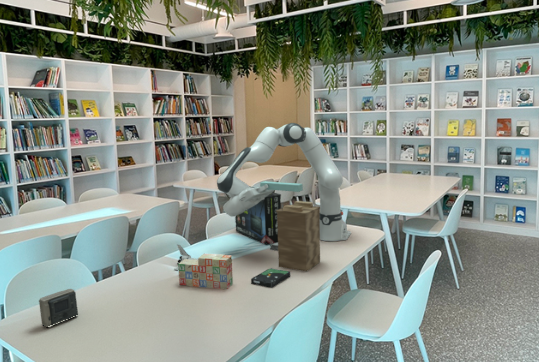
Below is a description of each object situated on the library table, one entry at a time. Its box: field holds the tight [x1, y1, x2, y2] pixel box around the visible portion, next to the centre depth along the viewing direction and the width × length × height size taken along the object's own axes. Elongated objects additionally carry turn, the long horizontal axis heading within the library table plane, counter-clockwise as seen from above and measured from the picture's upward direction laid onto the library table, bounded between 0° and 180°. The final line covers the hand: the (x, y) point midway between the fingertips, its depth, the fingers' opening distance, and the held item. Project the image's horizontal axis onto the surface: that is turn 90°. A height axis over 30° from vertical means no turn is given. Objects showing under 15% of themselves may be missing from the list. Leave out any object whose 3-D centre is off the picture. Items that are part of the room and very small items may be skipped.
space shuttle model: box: [174, 244, 198, 271], centre depth 199 cm, size 16×25×10 cm, turn 65°
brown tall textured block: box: [276, 200, 321, 272], centre depth 196 cm, size 15×15×28 cm
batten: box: [259, 181, 304, 193], centre depth 198 cm, size 4×20×3 cm, turn 58°
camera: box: [38, 288, 79, 328], centre depth 148 cm, size 11×6×10 cm, turn 140°
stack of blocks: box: [177, 253, 234, 290], centre depth 177 cm, size 21×6×12 cm, turn 74°
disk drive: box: [250, 267, 291, 289], centre depth 181 cm, size 10×3×15 cm
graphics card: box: [269, 243, 278, 252], centre depth 229 cm, size 10×3×25 cm
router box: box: [234, 186, 282, 246], centre depth 245 cm, size 36×11×27 cm, turn 32°
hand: (271, 184), depth 200 cm, fingers closed on batten, 4 cm apart
